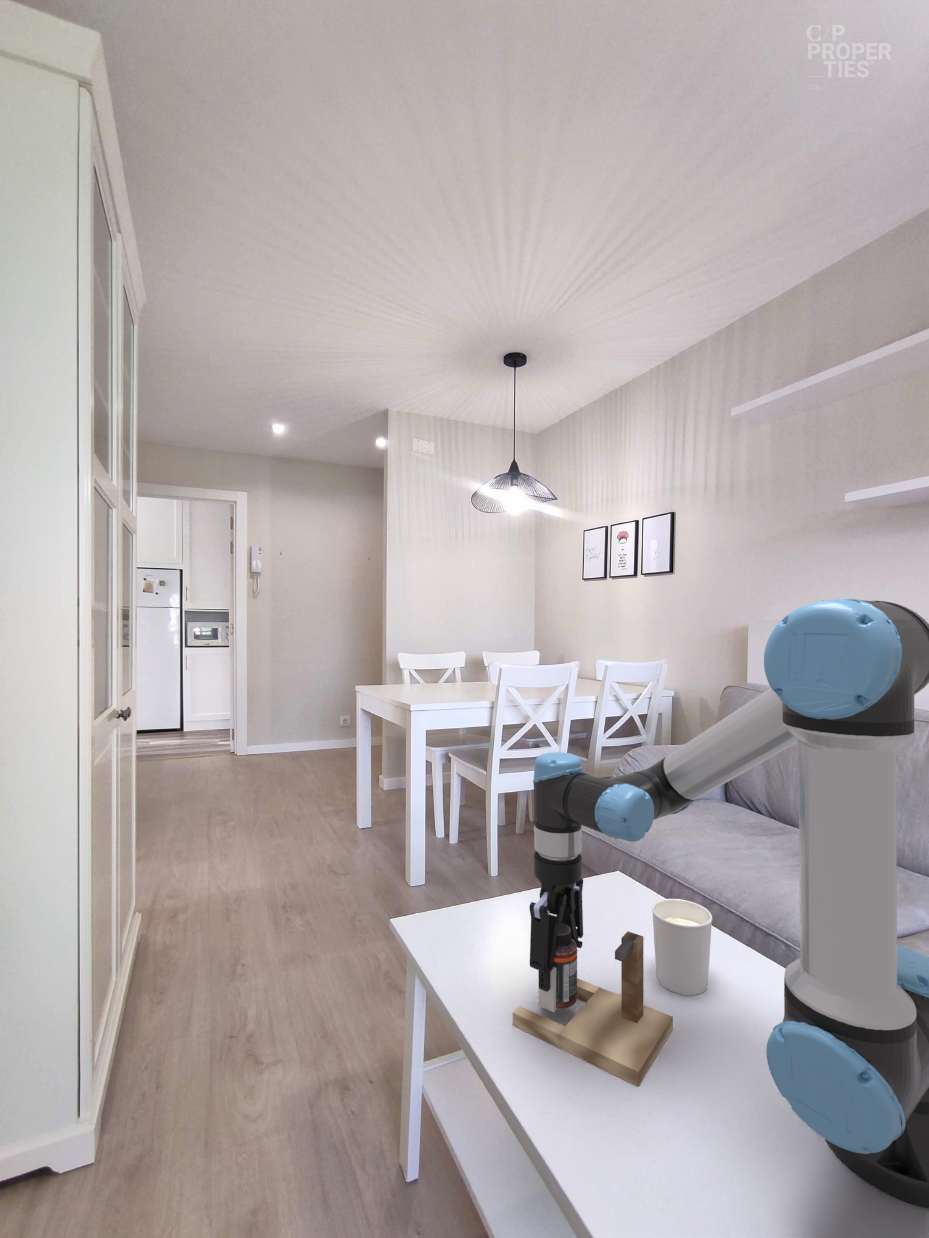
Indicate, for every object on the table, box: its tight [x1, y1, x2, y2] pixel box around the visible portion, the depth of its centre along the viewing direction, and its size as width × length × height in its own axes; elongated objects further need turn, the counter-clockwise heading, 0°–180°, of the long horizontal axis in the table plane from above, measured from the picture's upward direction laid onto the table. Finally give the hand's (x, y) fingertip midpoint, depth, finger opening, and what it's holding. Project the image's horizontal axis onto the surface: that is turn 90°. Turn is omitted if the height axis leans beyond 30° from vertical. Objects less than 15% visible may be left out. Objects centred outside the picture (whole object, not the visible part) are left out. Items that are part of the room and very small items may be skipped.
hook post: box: [614, 931, 644, 1023], centre depth 90 cm, size 2×6×12 cm, turn 143°
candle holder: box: [651, 898, 713, 996], centre depth 104 cm, size 10×10×12 cm
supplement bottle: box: [553, 923, 578, 1009], centre depth 95 cm, size 6×6×11 cm
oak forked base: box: [512, 977, 674, 1087], centre depth 92 cm, size 20×14×2 cm
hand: (557, 996), depth 95 cm, fingers closed on supplement bottle, 6 cm apart
